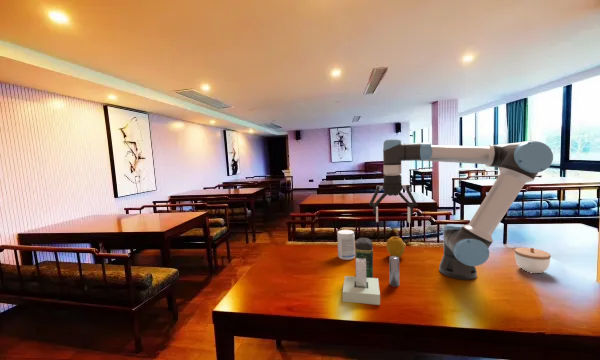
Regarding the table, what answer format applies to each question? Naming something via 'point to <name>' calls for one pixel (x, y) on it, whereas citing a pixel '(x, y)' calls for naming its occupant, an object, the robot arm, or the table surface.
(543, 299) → the table surface
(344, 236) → the supplement tub
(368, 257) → the coffee jar
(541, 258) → the dishware bowl
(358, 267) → the square bit
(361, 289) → the socket block
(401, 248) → the apple
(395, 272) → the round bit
